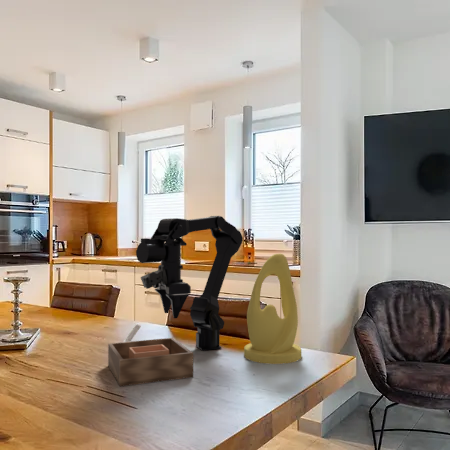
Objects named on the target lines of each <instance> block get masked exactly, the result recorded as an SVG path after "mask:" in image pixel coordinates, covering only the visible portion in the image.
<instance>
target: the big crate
mask: <svg viewBox="0 0 450 450" xmlns="http://www.w3.org/2000/svg"><path fill="white" fill-rule="evenodd" d="M161 344H163V345H164V346H165V347H166V348H168V349H169V355H159V356H150V357H140V358H131V359H129V348H130V347H140V346H151V345H161ZM107 353H108V355H107V359H108V361H107V362H108V363H107V365H108V368H109V370H110V372H111V373H112V375H113V377H114V379H115V381H116V383H117V384H118V386H119V387H128V386H136V385H143V384H149V383H157V382H158V383H159V382H165V381H174V380H181V379H182V380H183V379H190V378H194V352H193V351H192V350H191V349H189V348H187V347H186V346H184V344H182V343H180V342H179V341H178V340H176V339H175V338H174V337H165V338H157V339H156V338H154V339H144V340H143V339H142V340H133V341H132V340H131V342H124V341H121V342H112V343H111V342H110V343H107Z"/></svg>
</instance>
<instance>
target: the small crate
mask: <svg viewBox="0 0 450 450" xmlns="http://www.w3.org/2000/svg"><path fill="white" fill-rule="evenodd" d="M159 355H169V349H168V348H166V347H165V346H164V345H163V344H161V345H151V346H140V347H130V348H129V359H131V358H140V357H150V356H159Z"/></svg>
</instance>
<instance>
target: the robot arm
mask: <svg viewBox="0 0 450 450" xmlns="http://www.w3.org/2000/svg"><path fill="white" fill-rule="evenodd" d="M206 230H207V231H208V230H210V232H211V236H212V237H213V238H214V239H215V244H214V245H215V250H216V254H215V257H214V259H213V264H212V265H211V266H212V267H211V269H210V272H209V275H208V277H207V280H206V284H205V286H204V289H203V292H202V294H201V295H200V296H199V297H198V296H195V297H193V300H192V304H191V306H190V308H189V309H190V314H189V316H190V318H191V321H192V324H193V327H194V328H197V332H196V333H195V347H197V348H198V349H200V350H201V351H212V350H218V349H222V346H221V345H220V330H223V329H224V326H225V320H224V319H223V318H222V317H221V315H220V314H219V312H220V305H219V304H220V303H219V299H218V298H219V296H220V292H221V289H222V286H223V283H224V281H225V278H226V274H227V272H228V269H229V265H230V263H231V260H232V257H233V256H235V254H237V252H238V251H239V250H240V248H241V246H242V244H243V240H244V237H243V235H242V233H241V231H240V230H239V229H238V228H236V226H234V225H233V224H231V223H230V222H228V220H226V219H225V218H224V217H223V216H221V215H211V216H207V217H200V218H191V219H185V218H177V217H176V218H163V219H160V220H159V222H158V225H157V227H156V229H155V231H154V232H153V234H152V236H151V238H146V237H145V238H140V243H139V244H138V245H137V247H136V250H135V255H136V258H137V260H138V262H139V263H141V264H147V263H148V264H151V263H160V264H159V265H158V267H157V270H155V271H152V272H149V273H148V274H144V275H142V276H140V280H141V283H142V285H143V288H145V289H147V290H148V289H151V288H153V289H154V291H155V292H156V293H157V294H158V295H159V296H160V299H161V304H162V308H163V312H164V313H165V314H169V312H170V309H171V311H172V316H173V317H172V318H173V319H178V318H179V315H180V313H181V311H182V309H183V306H184V304H185V302H187V299H188V297H189V296H190V294H192V293H191V291H192V290H191V287H192V286H191V285H190V284H189V283H187V282H184V280H183V279H182V276H181V275H182V270H183V269H184V267H183V266H184V265H182V263H181V262H182V261H181V260H182V259H181V257H182V254H181V253H182V252H181V250H182V248H181V247H182V246H185V247H186V246H187V244H188V243H187V242H186V241H184V240H183V238H182V237H185V236H188V234H190V233H193V232H198V231H199V232H200V231H206Z"/></svg>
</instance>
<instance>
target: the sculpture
mask: <svg viewBox="0 0 450 450" xmlns="http://www.w3.org/2000/svg"><path fill="white" fill-rule="evenodd" d="M291 274H292V273H291V270H290V266H289V263H288V259H287V257H286V256H285V255H284V254H283V253H275V254H272V255H271V256H269V257H268V259H267V260H266V261H265V262H264V264H263V265H262V267H261V269H260V271H259V272H258V275H257V276H256V279H255V281H254V284H253V287H252V290H251V294H250V299H249V303H248V305H247V311H246V323H247V325H246V326H247V331H248V337H249V341H250V343H248V344H246V345H244V347H243V348H244V349H243V350H244V351H243V357H244V358H246V359H247V360H249V361H251V362H255V363H260V364H269V365H270V364H271V365H275V364H276V365H281V364H283V363H284V364H290V363H291V364H292V363H295V362H297V360H298V361H300V360H301V359H302V347H300V345H298V344H296V343H295V340H296V337H297V336H296V335H297V331H298V327H299V326H298V323H299V322H298V321H299V319H298V318H299V317H298V307H297V299H296V296H295V295H296V294H295V291H294V287H293V281H292V279H293V278H292V275H291ZM270 275H271V276H272V275H274V276H276V277H277V279H278V280H279V287H280V289H279V290H280V300H281V301H280V302H281V309H282V314H283V318H282V317H280V316H279V314H278V311H277V307H275V306H274V305H273V304H266V306H265V307H263V309H262V308H261V304H260V303H261V293H262V292H261V291H262V287H263V283H264V281H265V279H266V278H268V277H269V276H270ZM299 359H300V360H299Z"/></svg>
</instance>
